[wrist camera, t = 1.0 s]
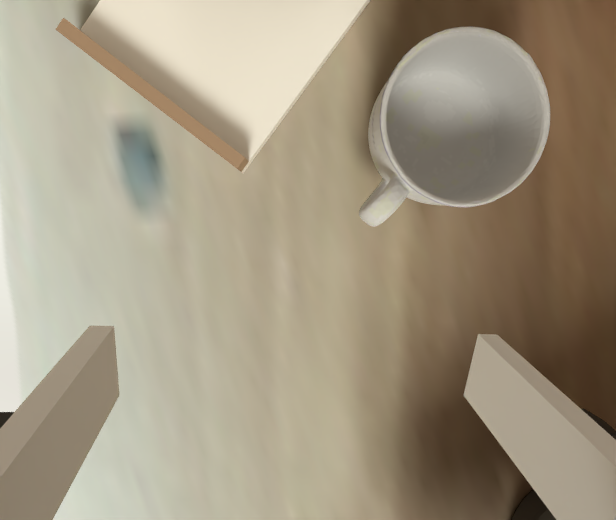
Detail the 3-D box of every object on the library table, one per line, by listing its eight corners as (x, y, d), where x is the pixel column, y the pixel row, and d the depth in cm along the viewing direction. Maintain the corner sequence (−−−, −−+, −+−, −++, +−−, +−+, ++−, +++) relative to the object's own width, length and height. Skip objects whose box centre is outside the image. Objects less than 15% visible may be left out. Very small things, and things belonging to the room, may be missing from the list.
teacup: (444, 45, 31) (491, -15, 24) (520, 157, 32) (590, 137, 24) (303, 152, 32) (302, 130, 24) (381, 259, 33) (405, 271, 25)
